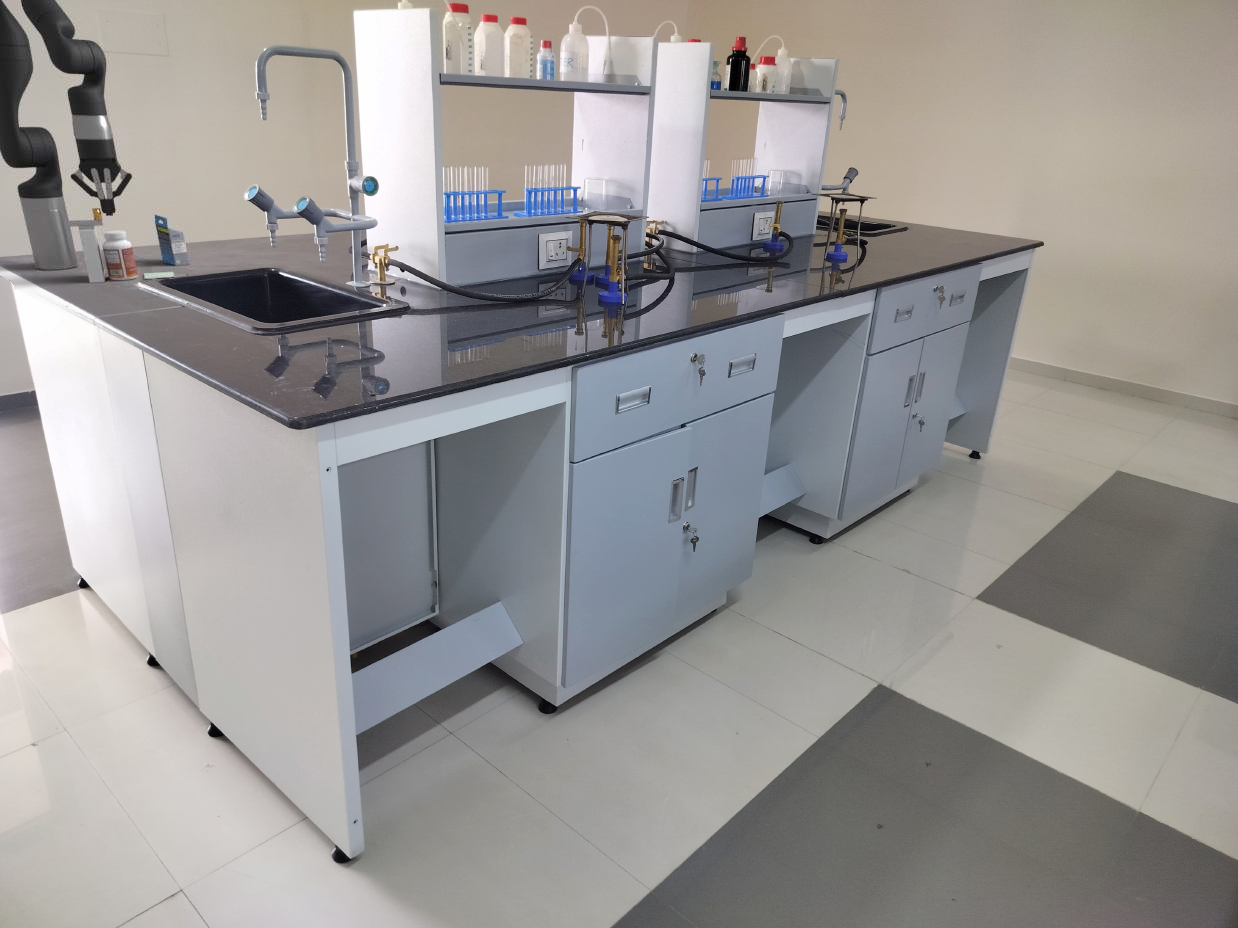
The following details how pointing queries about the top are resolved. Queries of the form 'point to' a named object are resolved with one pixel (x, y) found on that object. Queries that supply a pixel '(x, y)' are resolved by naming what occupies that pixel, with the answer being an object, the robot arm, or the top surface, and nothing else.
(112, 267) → the pill bottle
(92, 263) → the socket panel
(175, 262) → the label tape box
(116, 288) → the top surface
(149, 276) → the mat
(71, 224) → the clip
